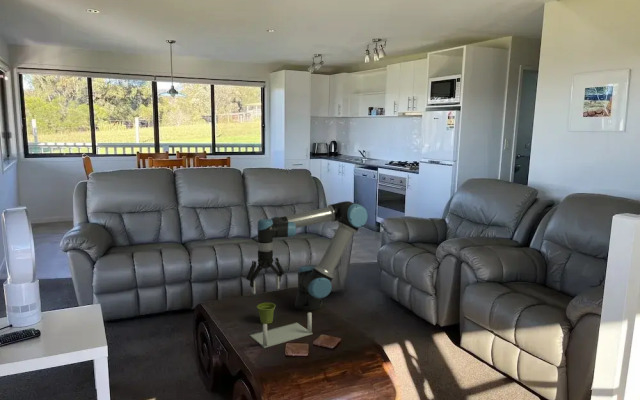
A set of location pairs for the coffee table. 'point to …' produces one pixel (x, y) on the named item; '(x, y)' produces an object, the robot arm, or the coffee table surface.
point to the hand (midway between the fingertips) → (265, 290)
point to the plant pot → (266, 312)
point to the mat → (282, 333)
